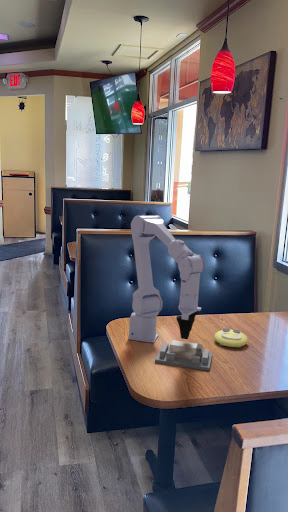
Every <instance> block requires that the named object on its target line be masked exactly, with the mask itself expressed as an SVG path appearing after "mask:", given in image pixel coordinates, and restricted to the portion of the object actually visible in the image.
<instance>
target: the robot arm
mask: <svg viewBox="0 0 288 512" xmlns="http://www.w3.org/2000/svg"><path fill="white" fill-rule="evenodd" d="M130 229H131V238H132V242H133V243H132V244H133V250H134V251H133V252H134V260H135V268H136V269H135V270H136V277H137V286H138V288H137V290H135V291H134V293H133V294H132V302H131V306H132V307H131V309H132V311H133V312H132V313H131V314H130V317H129V324H128V325H129V327H128V329H129V330H128V340H131V341H138V342H139V341H140V342H146V343H153V344H154V343H155V342H156V340H157V338H158V336H159V333H157V321H158V315H159V313H160V312H161V310H162V309H163V300H162V297H161V294H160V290H159V289H157V288H156V287H154V286H155V285H154V281H153V280H154V279H153V271H152V262H151V254H150V241H151V240H153V239H154V238H155V237H156V238H158V240H159V241H161V242H162V243H163V244H164V245H165V246H166V247H167V253H168V254H169V255H170V256H171V258H172V259H173V260H174V261H175V263H176V264H177V267H178V270H179V278H180V291H179V305H178V310H179V311H180V313H181V315H177V316H176V322H177V324H178V327H179V334H180V335H179V336H180V339H182V340H189V337H190V334H191V331H192V329H193V325H194V322H195V321H196V318H195V317H196V316H197V314H198V313H199V312H201V310H202V307H199V306H198V305H199V291H200V281H201V273H203V272H204V270H205V269H206V262H205V259H204V258H203V256H202V255H200V254H196V253H194V252H193V251H192V250H191V249H189V247H188V246H187V244H185V242H184V240H181V239H176V238H175V237H174V236H173V234H172V233H171V232H170V231H169V229H168V228H167V226H166V225H165V221H164V219H162V217H161V216H160V215H157V214H155V215H135V216H134V217H133V218H132V220H131V223H130Z"/></svg>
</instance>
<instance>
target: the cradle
mask: <svg viewBox="0 0 288 512" xmlns="http://www.w3.org/2000/svg"><path fill="white" fill-rule="evenodd" d="M169 350H170V343H166V342H163V345H161V347H160V349H159V351H158V353H157V355H156V357H155V359H154V363H156V364H161V365H167V366H168V365H169V366H175V367H182V368H187V369H196V370H201V371H208V372H210V368H211V363H212V359H213V352H210V349H208V348H204V351H203V346H202V356H201V360H200V356H196V355H192V360H191V359H184V358H177V357H175V352H169Z"/></svg>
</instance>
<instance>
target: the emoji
mask: <svg viewBox="0 0 288 512" xmlns="http://www.w3.org/2000/svg"><path fill="white" fill-rule="evenodd" d="M213 338H214V340H215V342H217V343H219V345H220V346H225V347H228V348H240V349H241V347H243V346H245V345H247V343H248V342H249V338H248V336H247V335H246V334H245V333H243V332H241V331H240V330H238V329H229V328H222V329H221V330H218V331H217V332H215V333H214V335H213Z"/></svg>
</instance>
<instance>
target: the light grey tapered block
mask: <svg viewBox="0 0 288 512" xmlns="http://www.w3.org/2000/svg"><path fill="white" fill-rule="evenodd" d="M169 346H170V350H169V352H175V357H177V358H184V359H191V360H192V355H196V356H200V360H201V356H202V351H203V349H202V347H203V344H202V343H196V342H195V343H194V342H190V341H189V342H188V341H182V340H181V341H180V340H174V339H172V340H171V341H170V343H169Z"/></svg>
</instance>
